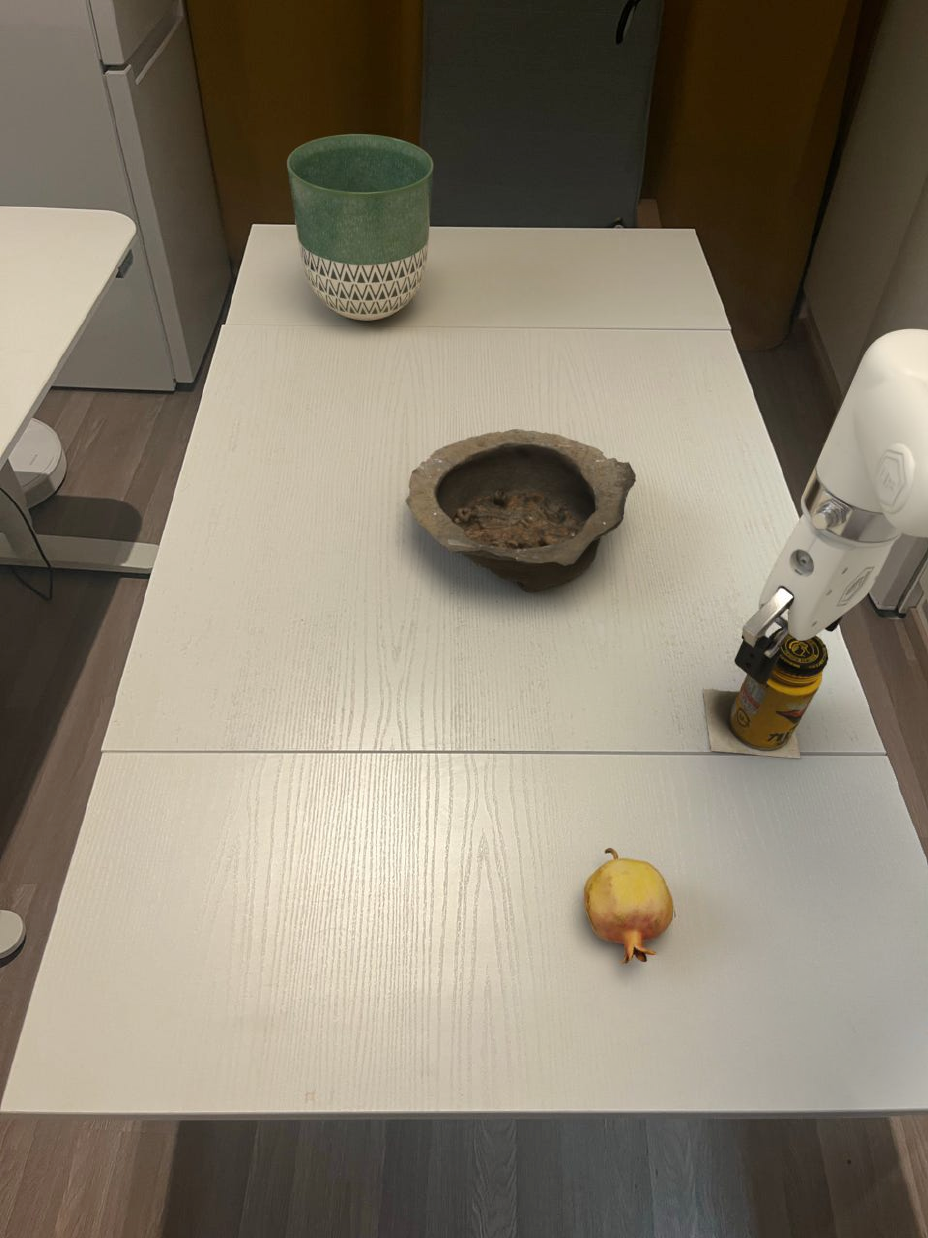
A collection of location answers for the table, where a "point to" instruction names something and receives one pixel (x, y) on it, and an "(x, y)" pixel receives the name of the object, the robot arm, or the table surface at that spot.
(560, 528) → the stone bowl
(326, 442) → the table surface
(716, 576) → the table surface
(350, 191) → the planter
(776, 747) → the condiment
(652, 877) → the fruit
